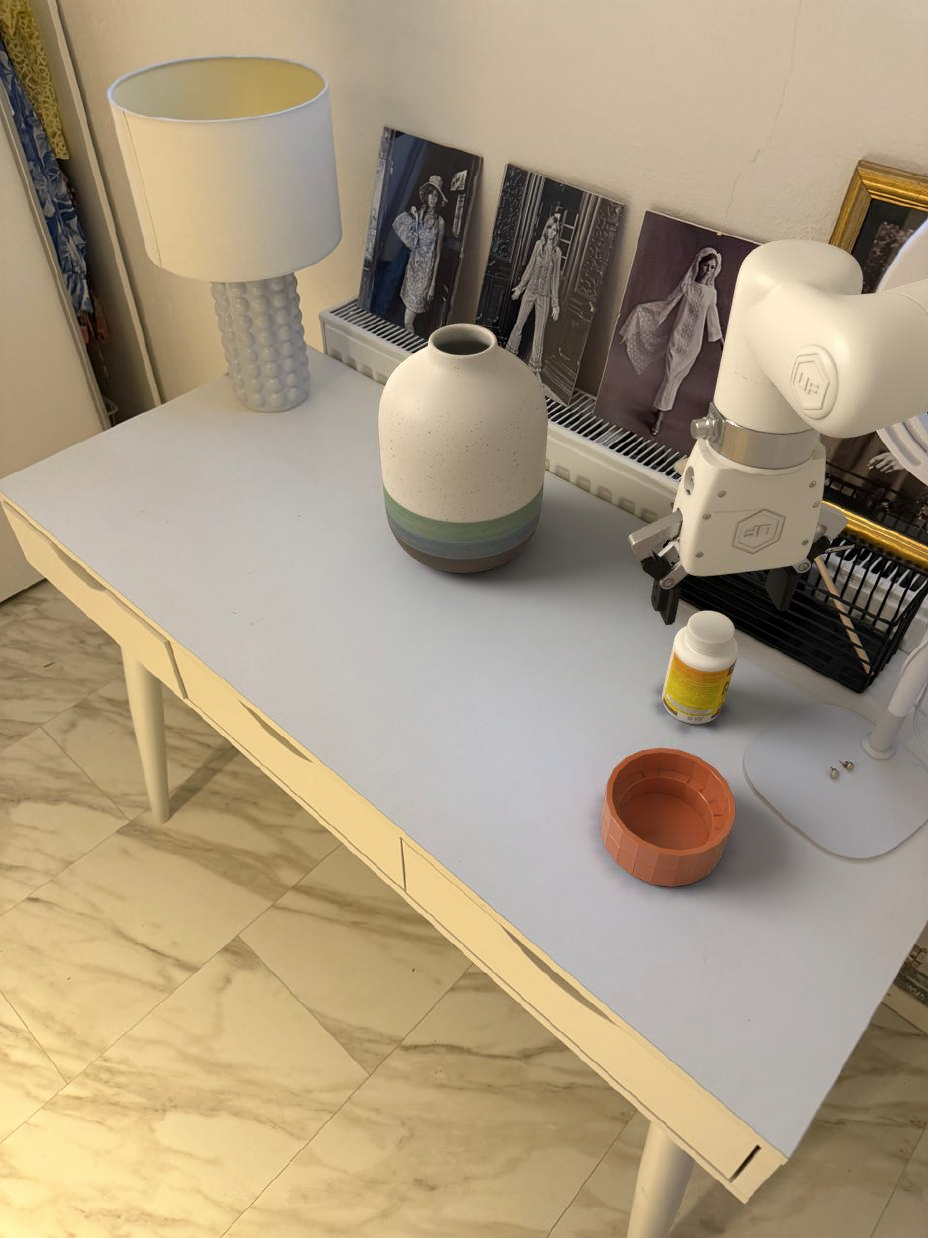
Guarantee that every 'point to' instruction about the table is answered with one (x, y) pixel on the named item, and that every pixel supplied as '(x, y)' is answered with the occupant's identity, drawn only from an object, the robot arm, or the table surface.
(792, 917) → the table surface
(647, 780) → the bowl
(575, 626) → the table surface
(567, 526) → the table surface
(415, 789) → the table surface
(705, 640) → the supplement bottle
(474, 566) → the vase
